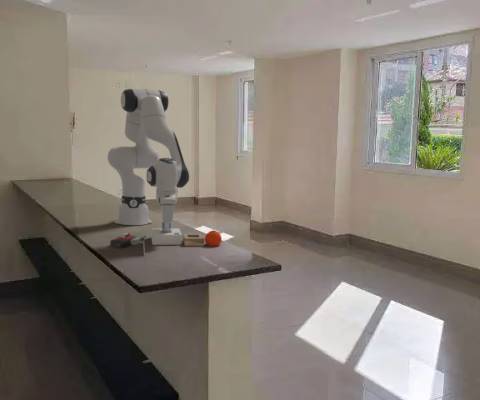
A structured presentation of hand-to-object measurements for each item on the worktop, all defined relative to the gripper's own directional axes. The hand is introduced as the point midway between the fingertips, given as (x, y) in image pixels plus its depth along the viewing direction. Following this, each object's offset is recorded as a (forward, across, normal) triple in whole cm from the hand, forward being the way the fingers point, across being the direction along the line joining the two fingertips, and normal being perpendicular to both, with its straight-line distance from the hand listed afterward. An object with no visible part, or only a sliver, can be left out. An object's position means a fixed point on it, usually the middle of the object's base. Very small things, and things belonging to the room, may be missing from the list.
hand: (166, 229), depth 208 cm
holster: (+6, +5, +11) cm, 13 cm away
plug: (+4, 0, 0) cm, 4 cm away
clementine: (+6, +8, +19) cm, 22 cm away
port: (+6, 0, 0) cm, 6 cm away
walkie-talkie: (+6, -2, -16) cm, 17 cm away
